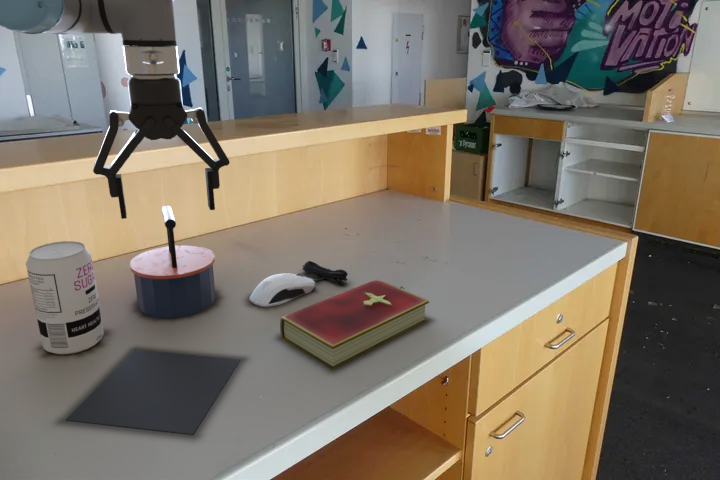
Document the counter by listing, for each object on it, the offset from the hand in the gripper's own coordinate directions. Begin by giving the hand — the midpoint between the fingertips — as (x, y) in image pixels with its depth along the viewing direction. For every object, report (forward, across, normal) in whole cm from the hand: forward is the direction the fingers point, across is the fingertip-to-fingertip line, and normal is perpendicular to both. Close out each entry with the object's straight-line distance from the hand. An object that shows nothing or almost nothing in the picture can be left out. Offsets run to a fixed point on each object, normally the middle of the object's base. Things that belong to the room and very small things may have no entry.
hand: (169, 212), depth 90 cm
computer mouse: (+17, +20, -2) cm, 26 cm away
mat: (+16, -4, -25) cm, 30 cm away
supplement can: (+16, -16, -9) cm, 24 cm away
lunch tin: (+16, 0, 0) cm, 16 cm away
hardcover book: (+17, +25, -20) cm, 36 cm away
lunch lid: (+9, 0, 0) cm, 9 cm away
